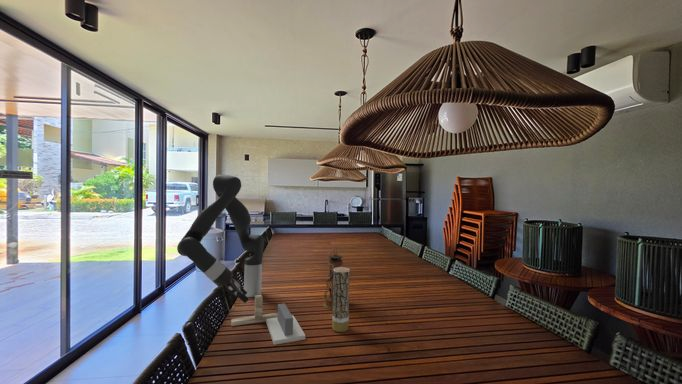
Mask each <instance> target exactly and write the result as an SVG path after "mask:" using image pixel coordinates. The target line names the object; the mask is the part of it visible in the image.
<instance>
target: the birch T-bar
mask: <svg viewBox="0 0 682 384" xmlns="http://www.w3.org/2000/svg"><path fill="white" fill-rule="evenodd" d="M263 301H264V297H263V295H262V294H261V295H255V297H254V312H253V313H254V315H251V316H245V317H243V316H242V317H236V318H231V319H230V322H231V323H230V326H231V327H235V326H243V325H248V324H255V323H261V322H266V319H269V318H276V317H277V314H278V312H273V313H266V314H263V304H264V303H263Z"/></svg>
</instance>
